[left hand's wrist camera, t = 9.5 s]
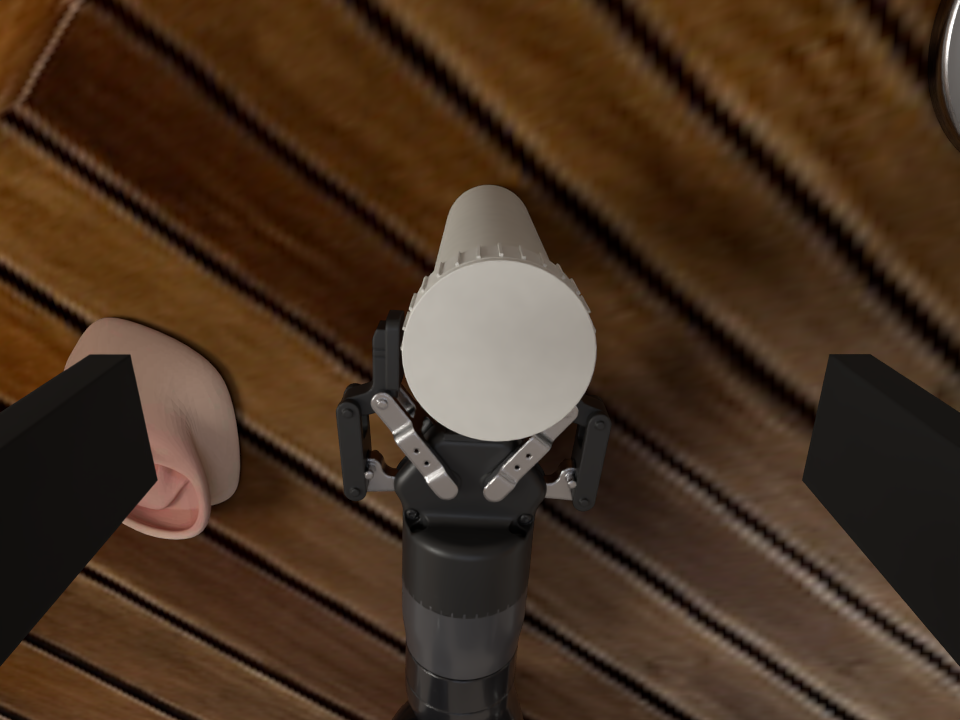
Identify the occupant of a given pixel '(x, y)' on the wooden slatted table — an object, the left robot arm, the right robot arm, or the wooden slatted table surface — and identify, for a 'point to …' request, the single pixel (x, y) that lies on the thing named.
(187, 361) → the anatomical model
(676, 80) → the wooden slatted table surface
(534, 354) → the lid
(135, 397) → the left robot arm
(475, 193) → the jar
